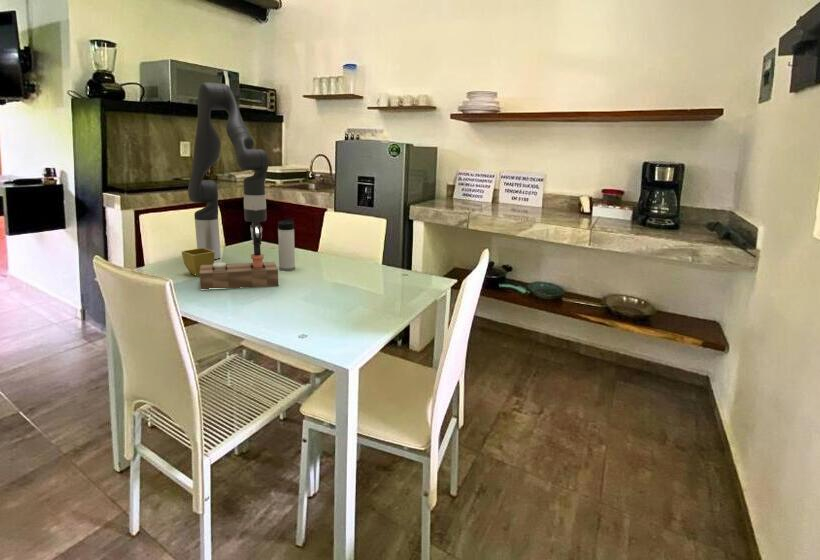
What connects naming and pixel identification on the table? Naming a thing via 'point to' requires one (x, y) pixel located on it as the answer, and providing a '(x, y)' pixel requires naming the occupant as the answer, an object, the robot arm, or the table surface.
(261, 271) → the block
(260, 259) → the red plug
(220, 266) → the grey plug
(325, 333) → the table surface
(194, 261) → the flower pot
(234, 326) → the table surface
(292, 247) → the travel mug
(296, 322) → the table surface
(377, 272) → the table surface
